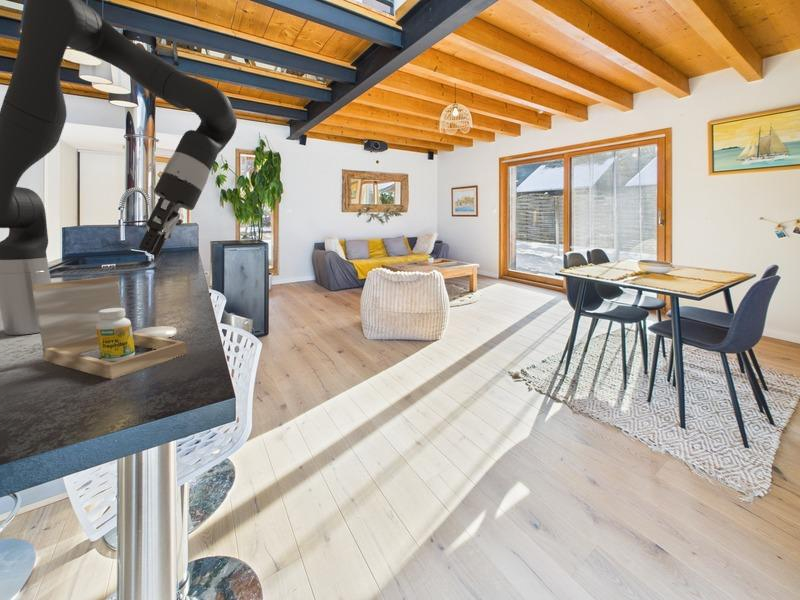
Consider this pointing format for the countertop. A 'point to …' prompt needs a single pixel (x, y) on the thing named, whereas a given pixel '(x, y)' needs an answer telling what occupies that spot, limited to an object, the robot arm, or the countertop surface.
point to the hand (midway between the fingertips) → (148, 252)
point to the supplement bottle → (114, 335)
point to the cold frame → (90, 328)
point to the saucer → (158, 331)
